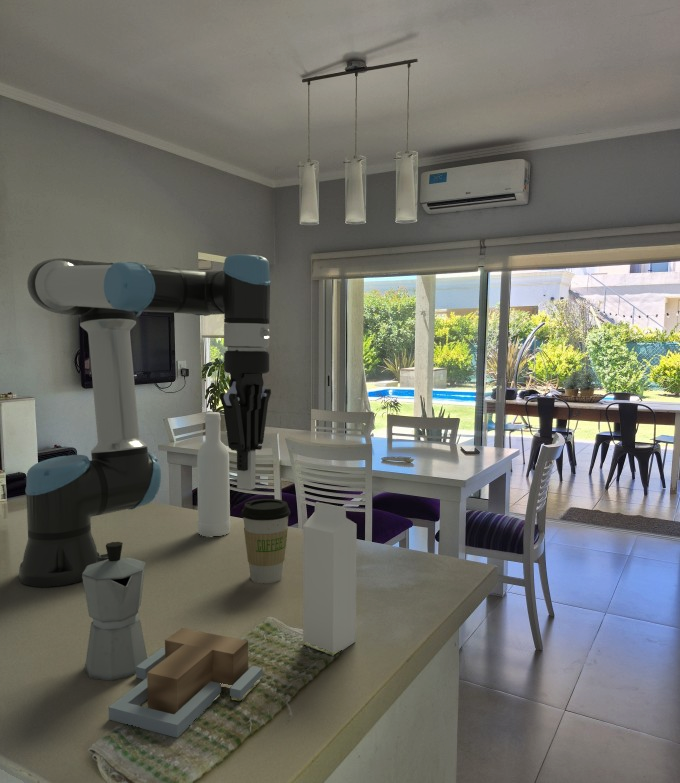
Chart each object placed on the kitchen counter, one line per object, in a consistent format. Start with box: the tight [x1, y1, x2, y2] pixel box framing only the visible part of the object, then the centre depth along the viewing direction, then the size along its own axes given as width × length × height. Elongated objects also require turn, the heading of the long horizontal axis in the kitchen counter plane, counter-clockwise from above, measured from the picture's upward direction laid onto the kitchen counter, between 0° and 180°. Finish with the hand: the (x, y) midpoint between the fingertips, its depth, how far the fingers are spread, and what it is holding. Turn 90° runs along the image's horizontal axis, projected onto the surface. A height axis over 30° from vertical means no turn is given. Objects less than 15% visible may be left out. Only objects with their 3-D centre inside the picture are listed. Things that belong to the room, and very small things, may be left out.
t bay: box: [108, 646, 263, 739], centre depth 81 cm, size 17×15×2 cm
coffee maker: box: [82, 541, 148, 682], centre depth 90 cm, size 15×9×18 cm, turn 33°
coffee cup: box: [240, 498, 291, 585], centre depth 123 cm, size 10×10×15 cm
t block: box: [147, 627, 249, 714], centre depth 83 cm, size 11×12×5 cm
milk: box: [302, 501, 358, 653], centre depth 95 cm, size 6×6×22 cm
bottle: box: [196, 411, 231, 537], centre depth 152 cm, size 8×8×30 cm
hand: (246, 488), depth 105 cm, fingers closed
